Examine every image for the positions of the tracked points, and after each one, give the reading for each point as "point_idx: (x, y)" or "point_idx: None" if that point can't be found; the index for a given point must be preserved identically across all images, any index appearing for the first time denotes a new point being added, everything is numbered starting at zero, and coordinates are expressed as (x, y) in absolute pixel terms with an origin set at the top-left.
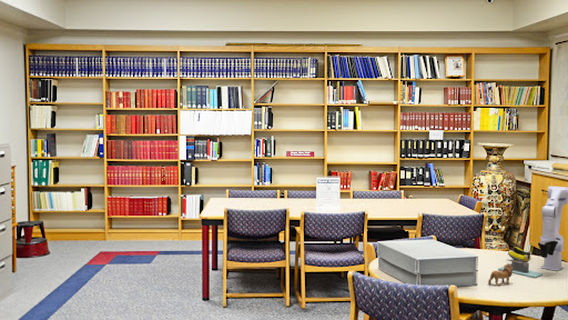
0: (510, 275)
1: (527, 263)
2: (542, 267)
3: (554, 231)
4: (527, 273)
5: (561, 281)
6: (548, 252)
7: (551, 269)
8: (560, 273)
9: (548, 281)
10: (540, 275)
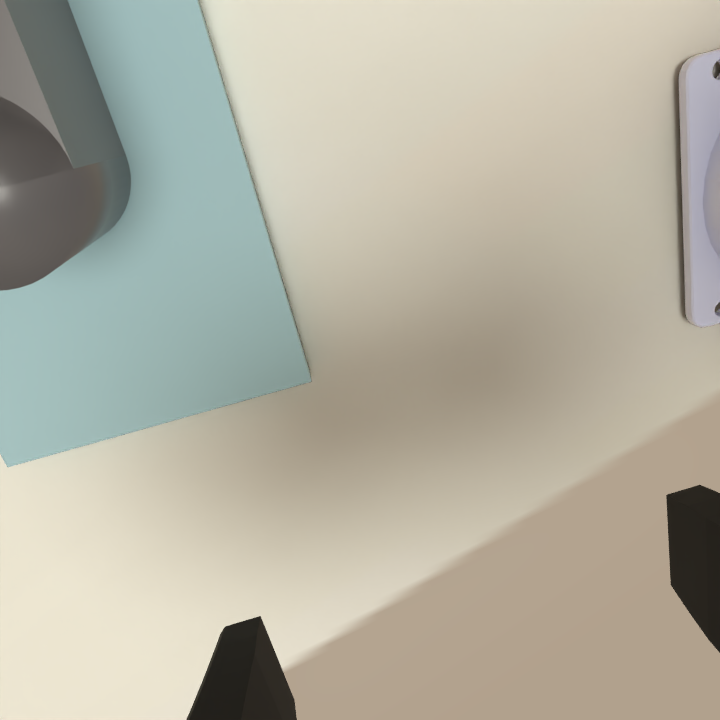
0: None
1: (25, 242)
2: (685, 97)
3: None
4: None
5: None
6: (714, 542)
7: (688, 255)
8: (621, 417)
9: (97, 609)
10: (217, 400)
